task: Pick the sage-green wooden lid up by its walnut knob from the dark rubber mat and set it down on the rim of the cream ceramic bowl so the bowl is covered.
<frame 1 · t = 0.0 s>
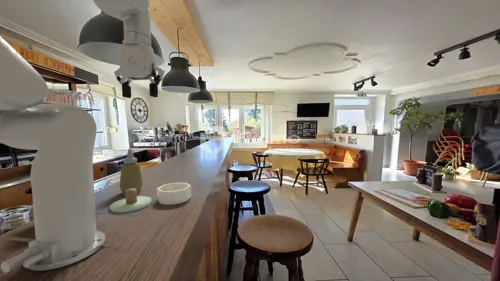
hand: (140, 97, 64), 37 cm above the counter, tool pointing down, fingers open, 9 cm apart
mat: (131, 207, 66), on the counter
lid: (131, 205, 66), point 1 cm above the counter, touching mat
bowl: (174, 200, 72), on the counter
squeeze bottle: (131, 194, 79), on the counter
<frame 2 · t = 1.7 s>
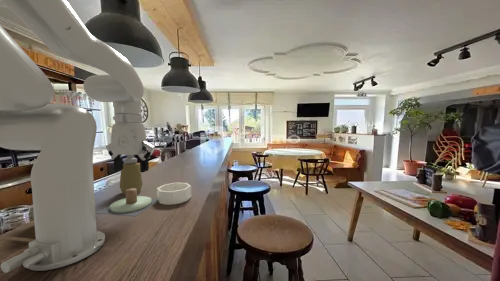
hand: (131, 170, 66), 12 cm above the counter, tool pointing down, fingers open, 9 cm apart
nothing on the counter moved.
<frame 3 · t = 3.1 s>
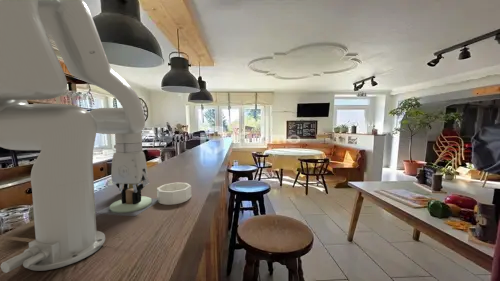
hand: (131, 202, 66), 2 cm above the counter, tool pointing down, fingers closed on lid, 3 cm apart
lid: (131, 205, 66), point 1 cm above the counter, touching gripper, mat
everything else where it was.
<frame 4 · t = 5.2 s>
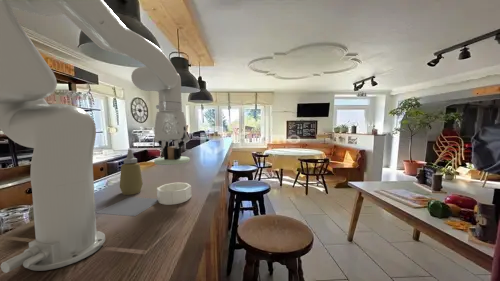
hand: (172, 158, 71), 16 cm above the counter, tool pointing down, fingers closed on lid, 3 cm apart
lid: (172, 161, 71), point 14 cm above the counter, touching gripper
everything else where it was.
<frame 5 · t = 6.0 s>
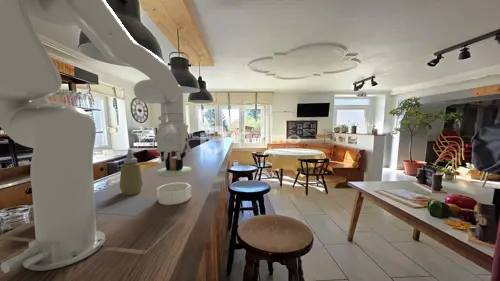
hand: (174, 169, 72), 12 cm above the counter, tool pointing down, fingers closed on lid, 3 cm apart
lid: (174, 172, 72), point 10 cm above the counter, touching gripper
everything else where it was.
when the fingers open (7 cm above the counter, at t = 6.9 s): lid drops 1 cm, resting on bowl.
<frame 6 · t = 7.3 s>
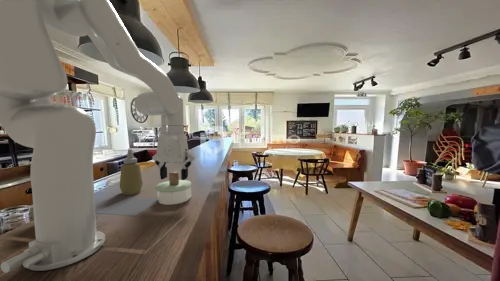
hand: (174, 178, 72), 8 cm above the counter, tool pointing down, fingers open, 7 cm apart
lid: (174, 186, 72), point 5 cm above the counter, touching bowl
everything else where it was.
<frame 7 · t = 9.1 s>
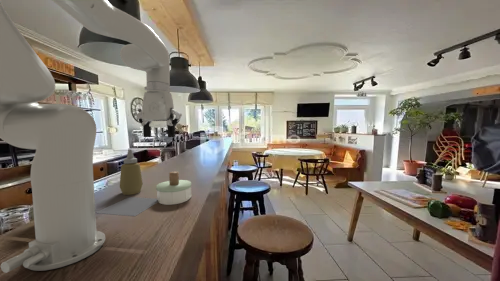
hand: (159, 137, 70), 23 cm above the counter, tool pointing down, fingers open, 9 cm apart
nothing on the counter moved.
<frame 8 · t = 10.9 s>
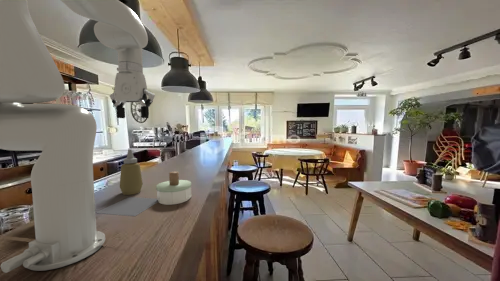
hand: (132, 118, 71), 30 cm above the counter, tool pointing down, fingers open, 9 cm apart
nothing on the counter moved.
at the end: lid 0.0 cm off-centre on the bowl, point 5.0 cm above the bowl's base; lid tilted 0°; the gripper is holding nothing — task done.
